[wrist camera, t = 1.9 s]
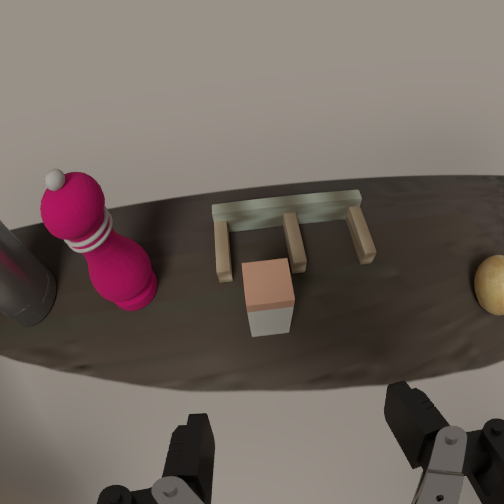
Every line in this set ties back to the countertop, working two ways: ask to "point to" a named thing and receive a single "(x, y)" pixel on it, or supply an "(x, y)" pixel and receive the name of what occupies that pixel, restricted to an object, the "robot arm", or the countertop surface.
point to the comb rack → (290, 224)
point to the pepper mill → (97, 239)
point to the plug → (268, 296)
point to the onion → (491, 284)
